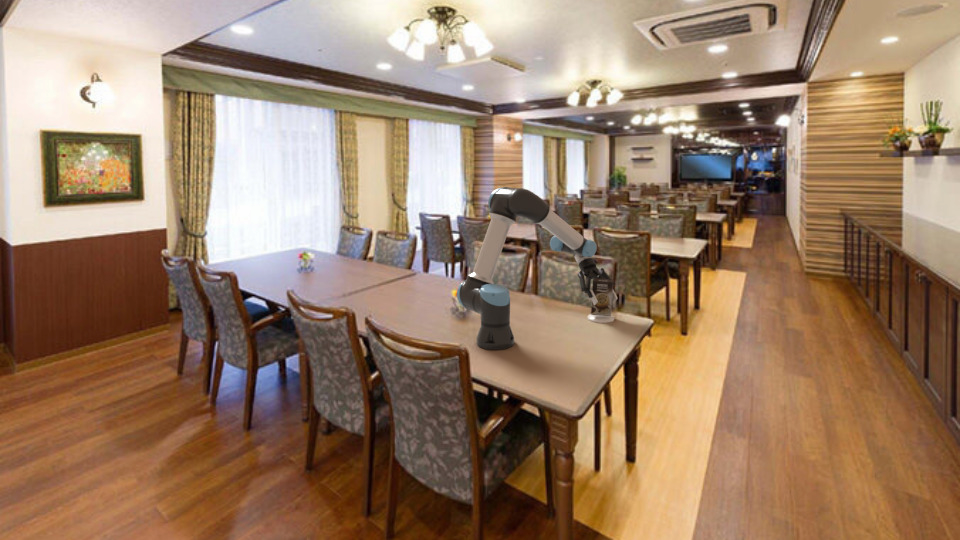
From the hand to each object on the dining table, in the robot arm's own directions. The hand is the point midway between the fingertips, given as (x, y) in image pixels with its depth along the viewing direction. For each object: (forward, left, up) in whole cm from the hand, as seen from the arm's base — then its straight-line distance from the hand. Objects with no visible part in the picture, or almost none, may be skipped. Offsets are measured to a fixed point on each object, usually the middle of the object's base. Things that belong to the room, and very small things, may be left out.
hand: (605, 301), depth 221 cm
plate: (0, +3, -9) cm, 9 cm away
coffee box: (0, +3, -7) cm, 7 cm away
